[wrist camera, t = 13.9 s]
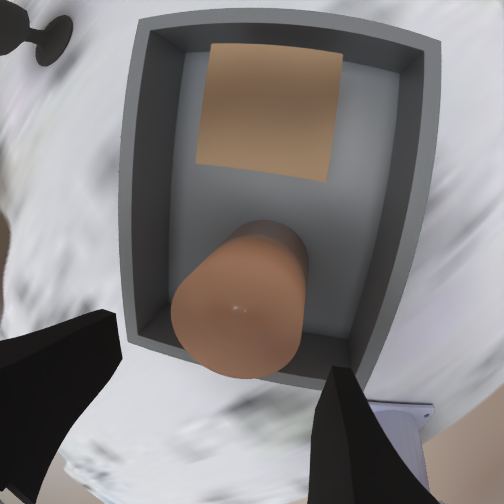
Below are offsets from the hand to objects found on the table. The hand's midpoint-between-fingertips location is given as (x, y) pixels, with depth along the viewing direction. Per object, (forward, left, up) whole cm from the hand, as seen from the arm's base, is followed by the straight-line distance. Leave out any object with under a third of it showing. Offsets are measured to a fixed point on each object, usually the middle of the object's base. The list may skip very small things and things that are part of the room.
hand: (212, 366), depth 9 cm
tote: (+4, 0, -10) cm, 11 cm away
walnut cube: (+8, 0, -9) cm, 12 cm away
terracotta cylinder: (0, 0, -9) cm, 9 cm away
